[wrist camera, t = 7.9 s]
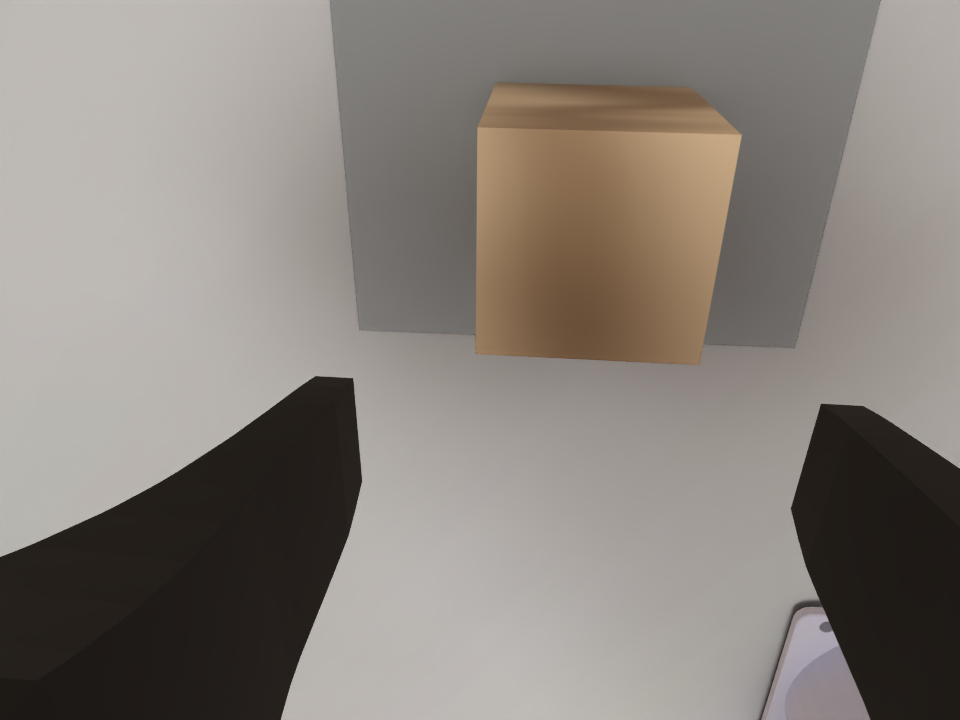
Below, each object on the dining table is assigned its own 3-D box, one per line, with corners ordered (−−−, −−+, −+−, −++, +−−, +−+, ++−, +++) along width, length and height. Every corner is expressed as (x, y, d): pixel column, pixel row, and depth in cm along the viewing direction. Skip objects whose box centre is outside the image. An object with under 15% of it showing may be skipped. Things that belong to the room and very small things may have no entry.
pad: (884, -30, 15) (887, -30, 15) (792, 344, 20) (794, 347, 20) (329, -32, 16) (326, -32, 16) (360, 326, 21) (359, 330, 20)
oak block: (691, 87, 17) (741, 134, 12) (664, 269, 19) (699, 364, 14) (496, 82, 17) (477, 127, 13) (492, 262, 19) (475, 354, 15)
